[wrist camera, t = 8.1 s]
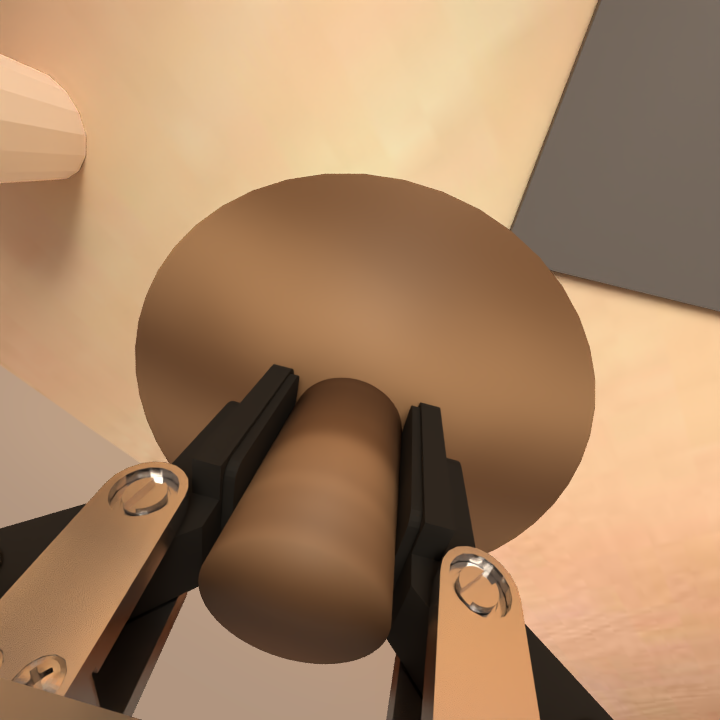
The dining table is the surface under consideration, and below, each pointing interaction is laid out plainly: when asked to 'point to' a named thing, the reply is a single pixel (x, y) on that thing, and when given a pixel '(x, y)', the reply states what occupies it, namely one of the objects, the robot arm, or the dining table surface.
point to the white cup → (37, 126)
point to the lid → (360, 389)
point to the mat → (635, 155)
